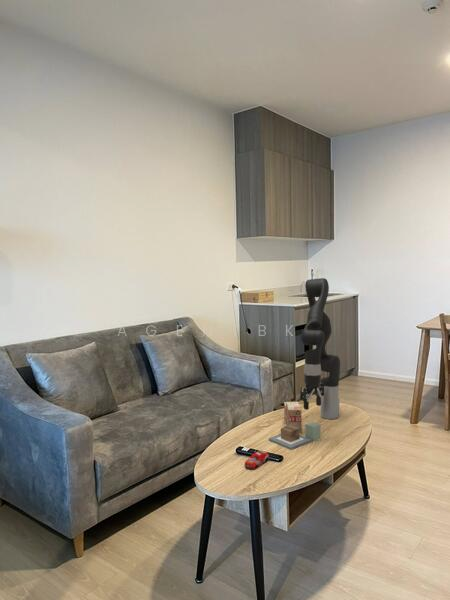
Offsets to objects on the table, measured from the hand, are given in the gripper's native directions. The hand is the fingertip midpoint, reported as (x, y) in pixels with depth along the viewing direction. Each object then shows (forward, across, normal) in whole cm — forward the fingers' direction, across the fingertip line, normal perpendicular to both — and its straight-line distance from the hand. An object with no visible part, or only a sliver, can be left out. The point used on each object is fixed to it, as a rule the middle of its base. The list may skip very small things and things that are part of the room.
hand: (312, 407), depth 202 cm
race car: (+16, +37, +2) cm, 40 cm away
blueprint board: (+15, +10, -5) cm, 18 cm away
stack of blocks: (+15, -6, -18) cm, 24 cm away
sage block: (+15, 0, 0) cm, 15 cm away
